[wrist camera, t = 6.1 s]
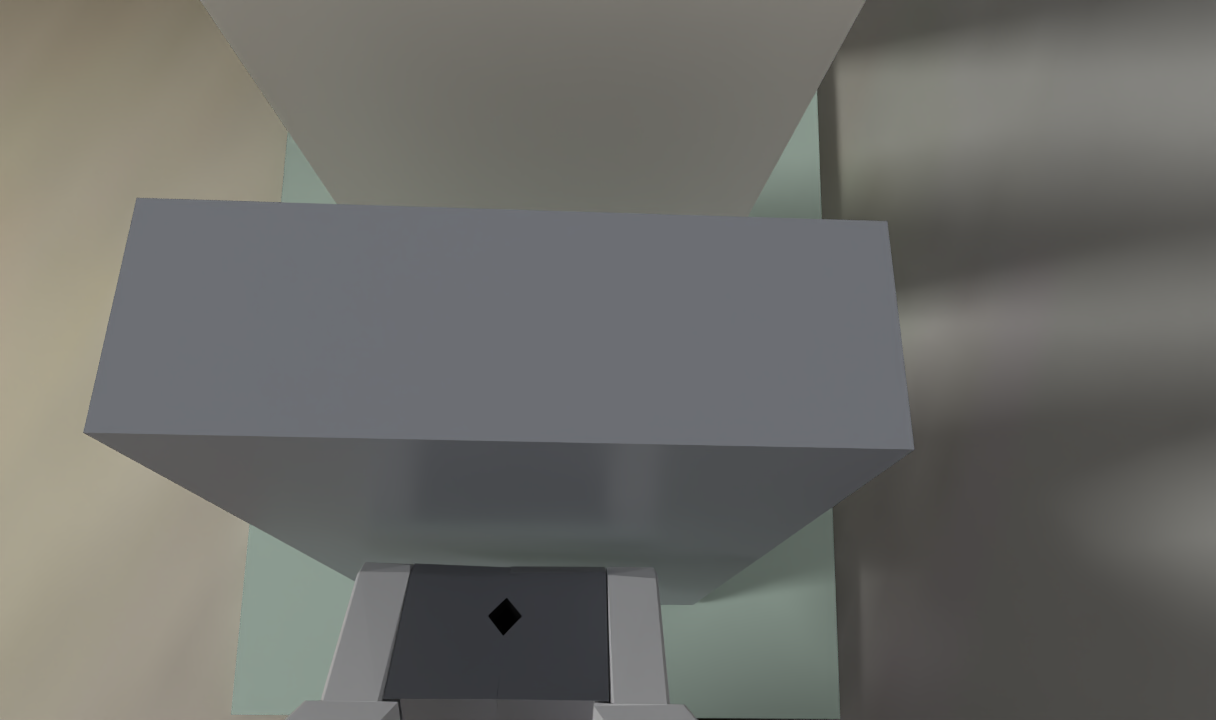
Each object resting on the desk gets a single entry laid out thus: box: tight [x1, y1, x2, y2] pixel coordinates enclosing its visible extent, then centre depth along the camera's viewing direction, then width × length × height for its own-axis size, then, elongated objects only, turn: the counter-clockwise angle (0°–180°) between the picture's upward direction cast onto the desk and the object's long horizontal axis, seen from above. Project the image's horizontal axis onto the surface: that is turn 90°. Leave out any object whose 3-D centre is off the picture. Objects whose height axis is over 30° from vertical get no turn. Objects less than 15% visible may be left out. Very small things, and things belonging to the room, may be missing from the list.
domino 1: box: [200, 0, 866, 217], centre depth 11 cm, size 2×5×10 cm, turn 89°
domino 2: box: [83, 198, 914, 605], centre depth 10 cm, size 2×5×10 cm, turn 89°
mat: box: [231, 91, 840, 719], centre depth 17 cm, size 25×10×1 cm, turn 179°
